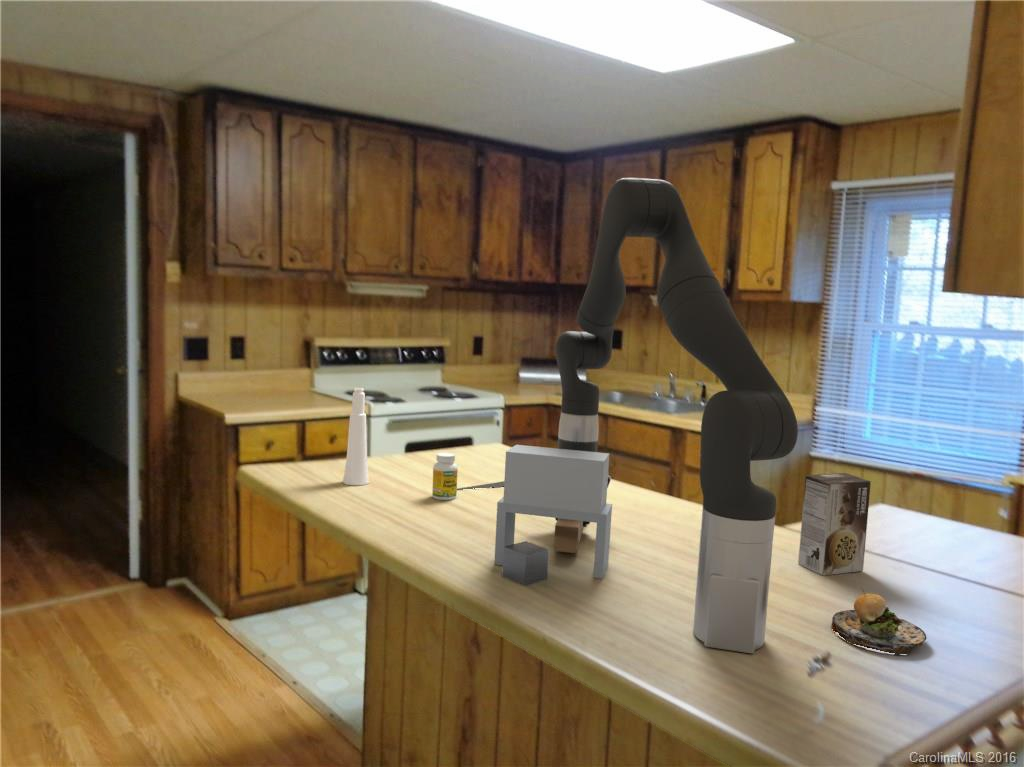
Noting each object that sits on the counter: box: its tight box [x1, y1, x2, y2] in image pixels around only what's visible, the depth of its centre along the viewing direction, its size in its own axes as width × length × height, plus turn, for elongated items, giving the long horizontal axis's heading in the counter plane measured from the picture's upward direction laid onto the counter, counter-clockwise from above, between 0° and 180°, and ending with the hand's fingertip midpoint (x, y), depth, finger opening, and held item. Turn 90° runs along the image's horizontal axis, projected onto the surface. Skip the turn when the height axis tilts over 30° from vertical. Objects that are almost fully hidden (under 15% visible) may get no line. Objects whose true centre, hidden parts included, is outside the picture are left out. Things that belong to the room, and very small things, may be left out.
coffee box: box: [797, 472, 872, 576], centre depth 134 cm, size 9×6×16 cm
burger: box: [830, 584, 927, 655], centre depth 106 cm, size 12×12×8 cm
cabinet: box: [494, 444, 613, 580], centre depth 128 cm, size 7×18×19 cm, turn 76°
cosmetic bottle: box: [342, 387, 370, 486], centre depth 178 cm, size 6×6×22 cm
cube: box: [501, 540, 550, 587], centre depth 122 cm, size 5×5×5 cm
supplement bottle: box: [432, 452, 458, 501], centre depth 169 cm, size 5×5×10 cm
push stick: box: [553, 518, 584, 554], centre depth 145 cm, size 24×4×4 cm, turn 171°
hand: (572, 524), depth 149 cm, fingers closed on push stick, 4 cm apart
